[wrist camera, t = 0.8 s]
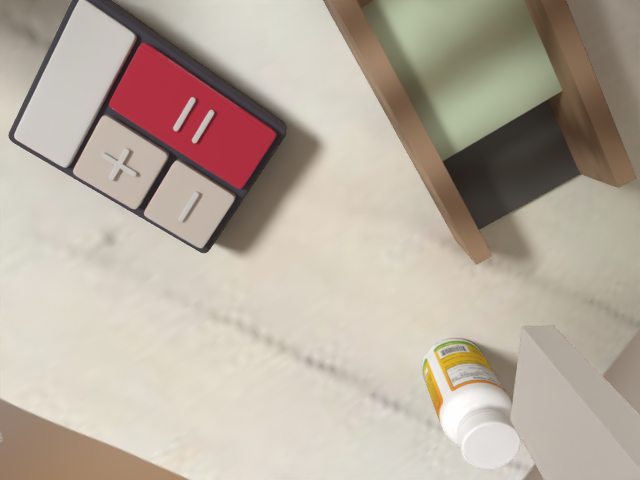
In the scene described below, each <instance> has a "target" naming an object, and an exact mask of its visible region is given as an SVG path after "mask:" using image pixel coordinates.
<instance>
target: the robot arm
mask: <svg viewBox="0 0 640 480" xmlns="http://www.w3.org/2000/svg"><path fill="white" fill-rule="evenodd" d="M510 420H511V422H512V424H513V426H514V427H515V429H516V431H517V433H518V434H519V436H520V438H521V440H522V441H523V443H524V445H525V447H526V448H527V450H528V452H529V454H530V455H531V457H532V459H533V461H534V462H535V464H536V466H537V467H538V469H539V471H540V473H541V475H542V476H543V478H544V480H640V415H639V414H638V413H637V412H636V411H635V410H634V409H633V408H632V406H631V405H630V404H629V403H628V402H627V401H626V400H625V399H624V398H623V397H622V396H621V395H620V394H619V393H618V392H617V391H616V390H615V389H614V388H613V387H612V386H611V384H609V382H607V380H606V379H605V378H604V377H603V376H602V375H601V374H600V373H599V372H598V371H597V370H596V369H595V368H594V367H593V366H592V365H591V364H590V363H589V362H588V360H587V359H586V358H585V357H584V356H583V355H582V354H581V353H580V352H579V351H578V350H577V349H576V348H575V347H574V346H573V345H572V344H571V343H570V342H569V341H568V340H567V339H566V337H565V336H564V335H563V334H562V333H561V332H560V331H559V330H558V329H557V328H556V327H555V326H554V325H551V326H525V327H522V331H521V339H520V347H519V355H518V363H517V371H516V378H515V386H514V394H513V402H512V410H511V418H510ZM2 441H3V439H2V435H1V432H0V443H1V442H2Z"/></svg>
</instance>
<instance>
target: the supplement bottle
mask: <svg viewBox="0 0 640 480" xmlns="http://www.w3.org/2000/svg"><path fill="white" fill-rule="evenodd" d="M422 373H423V377H424V380H425V383H426V385H427V388H428V391H429V393H430V396H431V399H432V402H433V404H434V407H435V410H436V413H437V415H438V418H439V421H440V424H441V426H442V428H443V431H444V432H445V434H446V435H447V437H448V438H449V439H450V440H451V441H452V442H454V443H455V444H457V445H459V447H460V449H461V452H462V454H463V456H464V458H465V459H466V461H467V462H469V463H470V464H471V465H473V466H475V467H477V468H481V469H495V468H498V467H501V466H503V465H506V464H507V463H509V462H510V461H511V460H513V458H514V457H515V456H516V455H517V453H518V451H519V449H520V443H521V441H520V436H519V434H518V433H517V431H516V429H515V427H514V426H513V424H512V422H511V420H510V418H511V410H512V402H511V400H510V398H509V396H508V395H507V393H506V391H505V390H504V388H503V386H502V385H501V383H500V382H499V380H498V378H497V377H496V375H495V373H494V372H493V370H492V369H491V367H490V365H489V364H488V362H487V360H486V359H485V357H484V355H483V354H482V352H481V351H480V350H479V348H478V347H477V346H476V345H474V344H473V343H471V342H470V341H467V340H464V339H458V338H452V339H446V340H443V341H440V342H438V343H437V344H435V345H434V346H432V347H431V348H430V349H429V350H428V352H427V353H426V355H425V357H424V359H423V363H422Z"/></svg>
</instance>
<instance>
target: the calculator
mask: <svg viewBox="0 0 640 480" xmlns="http://www.w3.org/2000/svg"><path fill="white" fill-rule="evenodd" d="M286 129H287V127H286V124H285V123H284V122H283V121H281V120H280V119H279V118H277V117H276V116H274V115H273V114H271V113H270V112H269V111H267V110H266V109H264V108H263V107H262V106H260V105H259V104H257V103H256V102H254V101H253V100H252V99H250V98H249V97H247V96H246V95H244V94H243V93H242V92H240V91H239V90H237V89H236V88H234V87H233V86H232V85H230V84H229V83H227V82H226V81H224V80H223V79H221V78H220V77H219V76H217V75H216V74H214V73H213V72H211V71H210V70H209V69H207V68H206V67H204V66H203V65H201V64H200V63H198V62H197V61H196V60H194V59H193V58H191V57H190V56H188V55H187V54H186V53H184V52H183V51H181V50H180V49H178V48H177V47H176V46H174V45H173V44H171V43H170V42H168V41H167V40H165V39H164V38H163V37H161V36H160V35H159V34H157V33H156V32H155V31H154V30H152V29H151V28H149V27H148V26H147V25H145V24H144V23H142V22H141V21H139V20H138V19H137V18H135V17H134V16H132V15H131V14H129V13H128V12H127V11H125V10H124V9H122V8H121V7H120V6H118V5H117V4H115V3H114V2H112V1H111V0H72V2H71V4H70V6H69V8H68V10H67V12H66V14H65V17H64V19H63V21H62V23H61V25H60V27H59V29H58V31H57V33H56V35H55V38H54V40H53V42H52V44H51V46H50V48H49V50H48V52H47V54H46V56H45V58H44V61H43V63H42V65H41V67H40V69H39V71H38V73H37V75H36V77H35V79H34V81H33V84H32V86H31V88H30V90H29V92H28V94H27V96H26V98H25V100H24V102H23V104H22V107H21V109H20V111H19V113H18V115H17V117H16V119H15V121H14V123H13V125H12V128H11V130H10V132H9V139H10V140H11V141H12V142H13V143H15V144H16V145H18V146H20V147H21V148H23V149H25V150H27V151H28V152H30V153H32V154H33V155H35V156H37V157H39V158H40V159H42V160H44V161H45V162H47V163H49V164H51V165H52V166H54V167H56V168H57V169H59V170H61V171H62V172H64V173H66V174H68V175H69V176H71V177H73V178H74V179H76V180H78V181H80V182H81V183H83V184H85V185H86V186H88V187H90V188H92V189H93V190H95V191H97V192H98V193H100V194H102V195H103V196H105V197H107V198H109V199H110V200H112V201H114V202H115V203H117V204H119V205H121V206H122V207H124V208H126V209H127V210H129V211H131V212H133V213H134V214H136V215H138V216H139V217H141V218H143V219H145V220H146V221H148V222H150V223H151V224H153V225H155V226H156V227H158V228H160V229H162V230H163V231H165V232H167V233H168V234H170V235H172V236H174V237H175V238H177V239H179V240H180V241H182V242H184V243H186V244H187V245H189V246H191V247H192V248H194V249H196V250H198V251H199V252H201V253H207V252H208V251H209V250H210V249H211V247H212V246H213V244H214V243H215V241H216V240H217V238H218V237H219V235H220V234H221V232H222V231H223V229H224V228H225V226H226V225H227V223H228V222H229V220H230V219H231V217H232V215H233V214H234V212H235V211H236V209H237V208H238V206H239V205H240V203H241V202H242V200H243V199H244V197H245V196H246V194H247V193H248V191H249V190H250V188H251V187H252V185H253V184H254V182H255V181H256V179H257V178H258V176H259V175H260V173H261V172H262V170H263V169H264V167H265V166H266V164H267V163H268V161H269V160H270V158H271V157H272V155H273V154H274V152H275V151H276V149H277V148H278V146H279V145H280V143H281V142H282V140H283V139H284V137H285V135H286Z"/></svg>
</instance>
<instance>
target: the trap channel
mask: <svg viewBox="0 0 640 480" xmlns="http://www.w3.org/2000/svg"><path fill="white" fill-rule="evenodd" d="M323 1H324V3H325V5H326V6H327V8H328V10H329V12H330V14H331V15H332V17H333V19H334V21H335V23H336V25H337V26H338V28H339V30H340V32H341V34H342V35H343V37H344V39H345V41H346V43H347V44H348V46H349V48H350V50H351V52H352V54H353V55H354V57H355V59H356V61H357V63H358V64H359V66H360V68H361V70H362V72H363V73H364V75H365V77H366V79H367V81H368V82H369V84H370V86H371V88H372V90H373V92H374V93H375V95H376V97H377V99H378V101H379V102H380V104H381V106H382V108H383V110H384V111H385V113H386V115H387V117H388V119H389V120H390V122H391V124H392V126H393V128H394V130H395V131H396V133H397V135H398V137H399V139H400V140H401V142H402V144H403V146H404V148H405V149H406V151H407V153H408V155H409V157H410V159H411V160H412V162H413V164H414V166H415V168H416V169H417V171H418V173H419V175H420V177H421V178H422V180H423V182H424V184H425V186H426V187H427V189H428V191H429V193H430V195H431V197H432V198H433V200H434V202H435V204H436V206H437V207H438V209H439V211H440V213H441V215H442V216H443V218H444V220H445V222H446V224H447V226H448V227H449V229H450V231H451V233H452V235H453V236H454V238H455V240H456V241H457V243H458V244H459V245H460V246H461V247H462V248H463V249H464V251H465V252H466V253H467V254H468V255H469V256H470V258H471V259H472V260H473V261H474V262H475V263H476V265H477V264H478V263H480V262H482V261H484V260H486V259H488V258H490V257H491V256H492V254H491V252H490V250H489V249H488V247H487V245H486V243H485V241H484V239H483V237H482V235H481V233H480V232H479V229H481V228H483V227H484V226H486V225H488V224H490V223H492V222H494V221H495V220H497V219H499V218H501V217H503V216H504V215H506V214H508V213H510V212H512V211H513V210H515V209H517V208H519V207H521V206H522V205H524V204H526V203H528V202H530V201H531V200H533V199H535V198H537V197H539V196H540V195H542V194H544V193H546V192H548V191H549V190H551V189H553V188H555V187H557V186H558V185H560V184H562V183H564V182H566V181H567V180H569V179H571V178H573V177H575V176H576V175H578V174H583V175H585V176H588V177H591V178H594V179H596V180H599V181H602V182H605V183H607V184H610V185H613V186H616V187H618V188H619V187H621V186H622V185H624V184H626V183H628V182H630V181H632V180H634V179H635V178H636V176H635V173H634V171H633V168H632V166H631V163H630V161H629V158H628V156H627V153H626V151H625V148H624V146H623V143H622V141H621V138H620V136H619V133H618V131H617V128H616V126H615V123H614V121H613V118H612V116H611V113H610V111H609V108H608V105H607V103H606V100H605V98H604V95H603V93H602V90H601V88H600V85H599V83H598V80H597V78H596V75H595V73H594V70H593V68H592V65H591V63H590V60H589V58H588V55H587V53H586V50H585V48H584V45H583V43H582V40H581V38H580V35H579V32H578V30H577V27H576V25H575V22H574V20H573V17H572V15H571V12H570V10H569V7H568V5H567V2H566V0H323Z"/></svg>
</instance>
